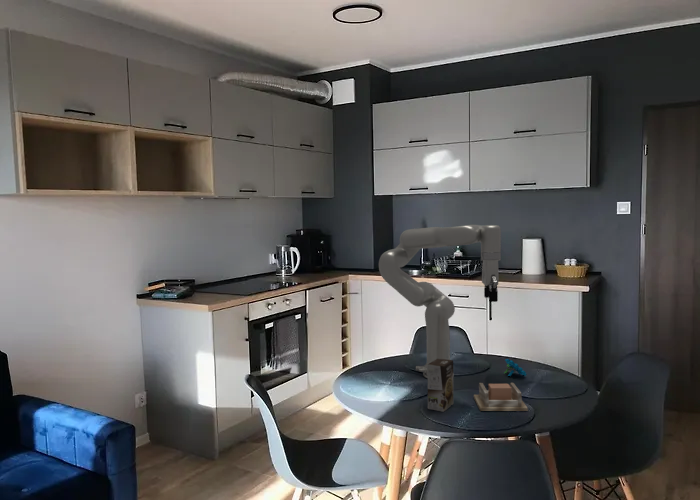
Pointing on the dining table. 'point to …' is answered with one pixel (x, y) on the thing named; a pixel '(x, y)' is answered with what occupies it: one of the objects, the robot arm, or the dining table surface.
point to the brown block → (499, 392)
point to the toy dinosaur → (514, 368)
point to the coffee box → (440, 384)
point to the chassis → (500, 405)
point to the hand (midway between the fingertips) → (490, 299)
